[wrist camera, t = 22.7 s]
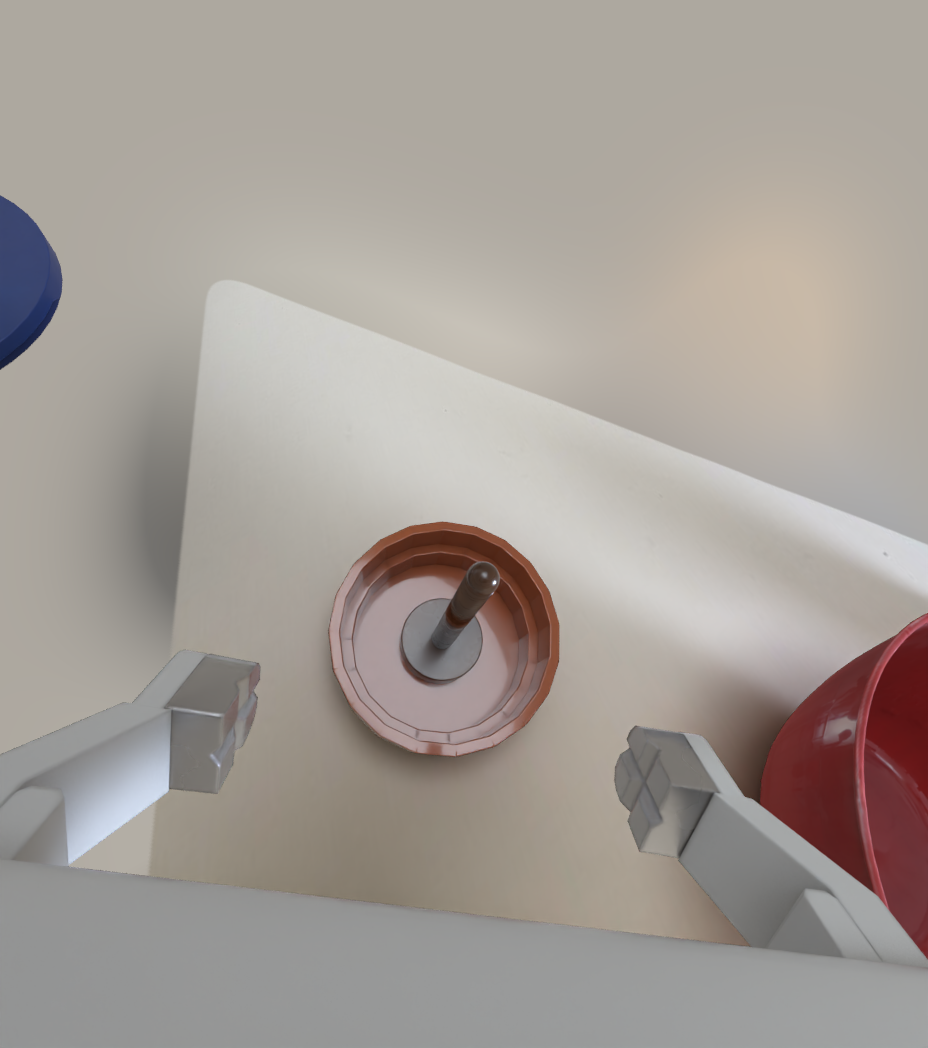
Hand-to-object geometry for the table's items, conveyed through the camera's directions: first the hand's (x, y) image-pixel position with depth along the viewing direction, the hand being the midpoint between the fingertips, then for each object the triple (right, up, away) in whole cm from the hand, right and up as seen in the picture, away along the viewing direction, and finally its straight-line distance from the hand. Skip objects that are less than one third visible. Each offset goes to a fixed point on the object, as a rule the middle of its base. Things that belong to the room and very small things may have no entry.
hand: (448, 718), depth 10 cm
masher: (-2, -5, +26) cm, 27 cm away
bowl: (-2, -5, +27) cm, 28 cm away
